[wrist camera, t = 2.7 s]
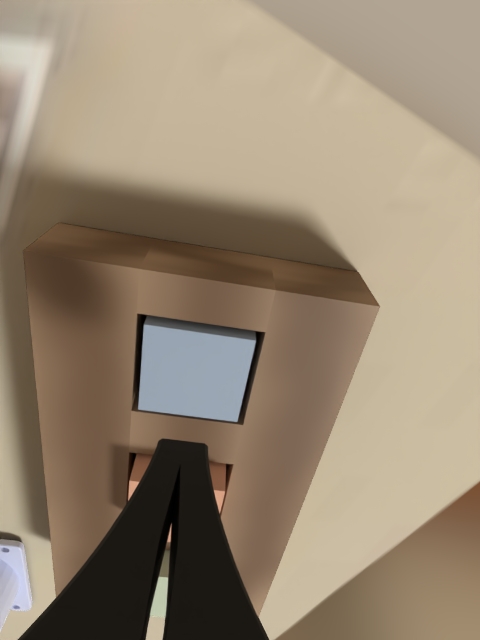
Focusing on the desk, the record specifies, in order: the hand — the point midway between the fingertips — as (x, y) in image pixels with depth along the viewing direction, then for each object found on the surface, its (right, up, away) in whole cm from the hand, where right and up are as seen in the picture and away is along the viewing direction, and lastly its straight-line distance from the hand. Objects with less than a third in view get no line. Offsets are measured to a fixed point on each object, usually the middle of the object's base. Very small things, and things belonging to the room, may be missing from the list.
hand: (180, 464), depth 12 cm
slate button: (0, +3, +6) cm, 6 cm away
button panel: (-1, -2, +10) cm, 10 cm away
